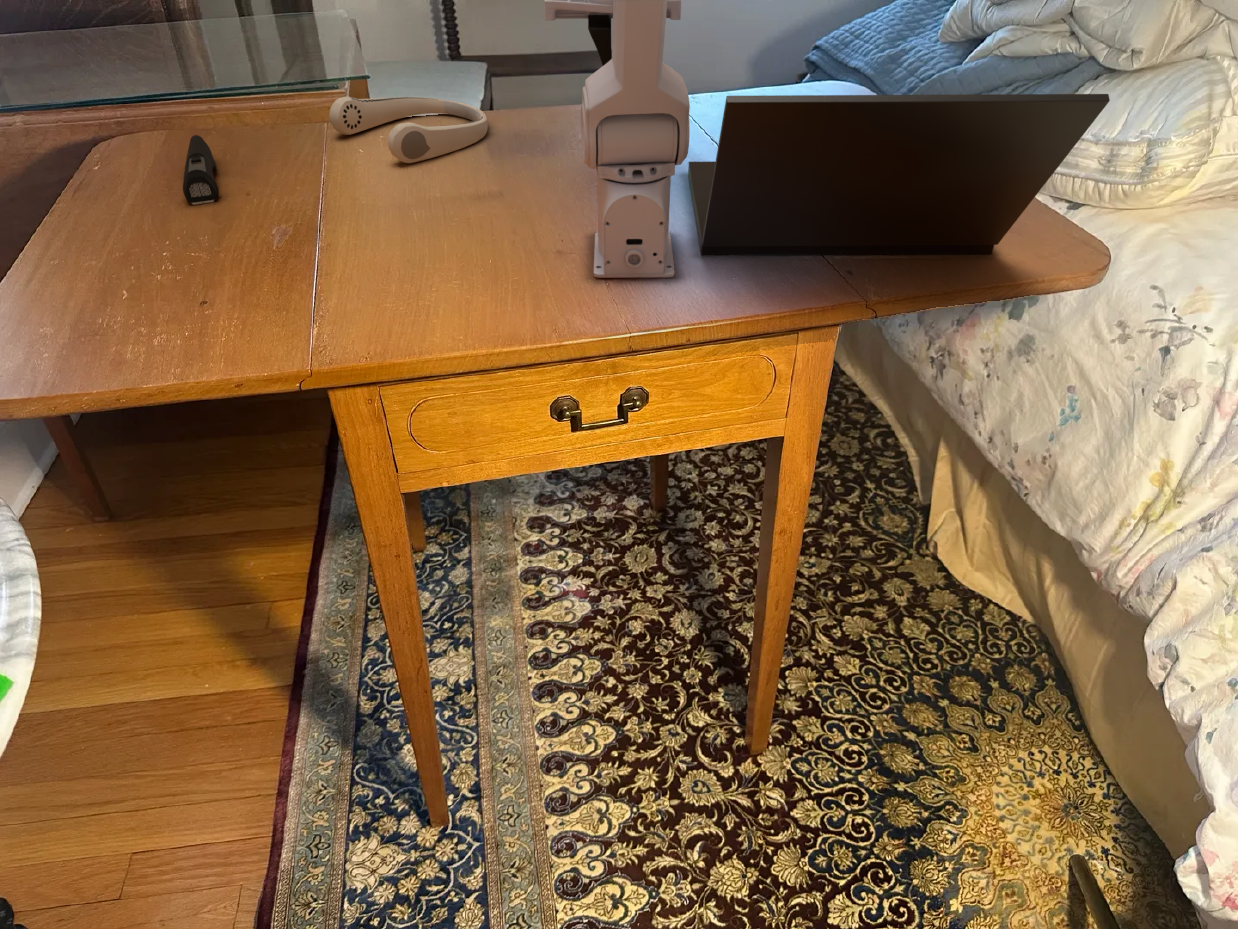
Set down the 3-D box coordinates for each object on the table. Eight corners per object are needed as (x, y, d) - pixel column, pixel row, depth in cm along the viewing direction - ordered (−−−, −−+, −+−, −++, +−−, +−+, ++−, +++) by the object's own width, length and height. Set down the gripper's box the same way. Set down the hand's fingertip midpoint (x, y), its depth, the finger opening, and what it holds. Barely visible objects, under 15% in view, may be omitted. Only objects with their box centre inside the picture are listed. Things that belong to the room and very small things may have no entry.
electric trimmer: (219, 156, 111) (211, 131, 109) (221, 200, 100) (212, 173, 98) (188, 160, 110) (179, 135, 108) (186, 206, 99) (176, 178, 97)
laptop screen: (726, 94, 68) (726, 102, 67) (1108, 92, 68) (1110, 100, 67) (702, 239, 88) (702, 246, 87) (996, 237, 88) (997, 244, 87)
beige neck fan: (439, 104, 125) (434, 68, 122) (513, 133, 116) (509, 96, 113) (329, 136, 116) (321, 98, 112) (400, 171, 107) (393, 131, 103)
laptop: (687, 175, 105) (688, 160, 104) (934, 174, 105) (937, 159, 104) (701, 255, 89) (702, 238, 88) (991, 254, 89) (996, 237, 88)
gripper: (680, -57, 92) (675, 77, 101) (544, -57, 92) (551, 77, 101) (684, -44, 87) (678, 96, 95) (540, -44, 87) (547, 97, 95)
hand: (613, 88), depth 98 cm, fingers closed
